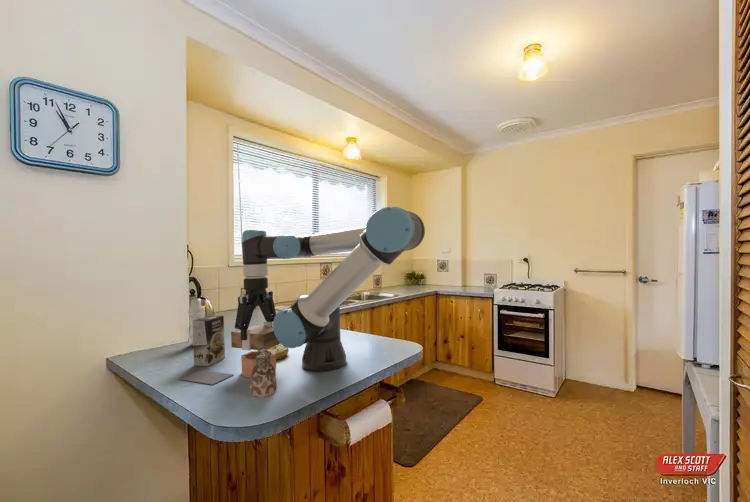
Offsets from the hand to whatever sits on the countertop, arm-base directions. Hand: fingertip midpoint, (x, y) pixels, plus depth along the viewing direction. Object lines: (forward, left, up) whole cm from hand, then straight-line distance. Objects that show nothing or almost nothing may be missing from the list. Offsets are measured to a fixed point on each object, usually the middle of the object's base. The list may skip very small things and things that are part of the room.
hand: (257, 345), depth 109 cm
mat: (+13, +9, -9) cm, 18 cm away
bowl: (0, 0, -9) cm, 9 cm away
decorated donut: (+6, -14, -9) cm, 18 cm away
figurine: (-12, +12, -9) cm, 19 cm away
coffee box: (+25, -3, -9) cm, 27 cm away
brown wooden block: (0, 0, 0) cm, 0 cm away
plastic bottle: (+49, -18, -9) cm, 53 cm away
